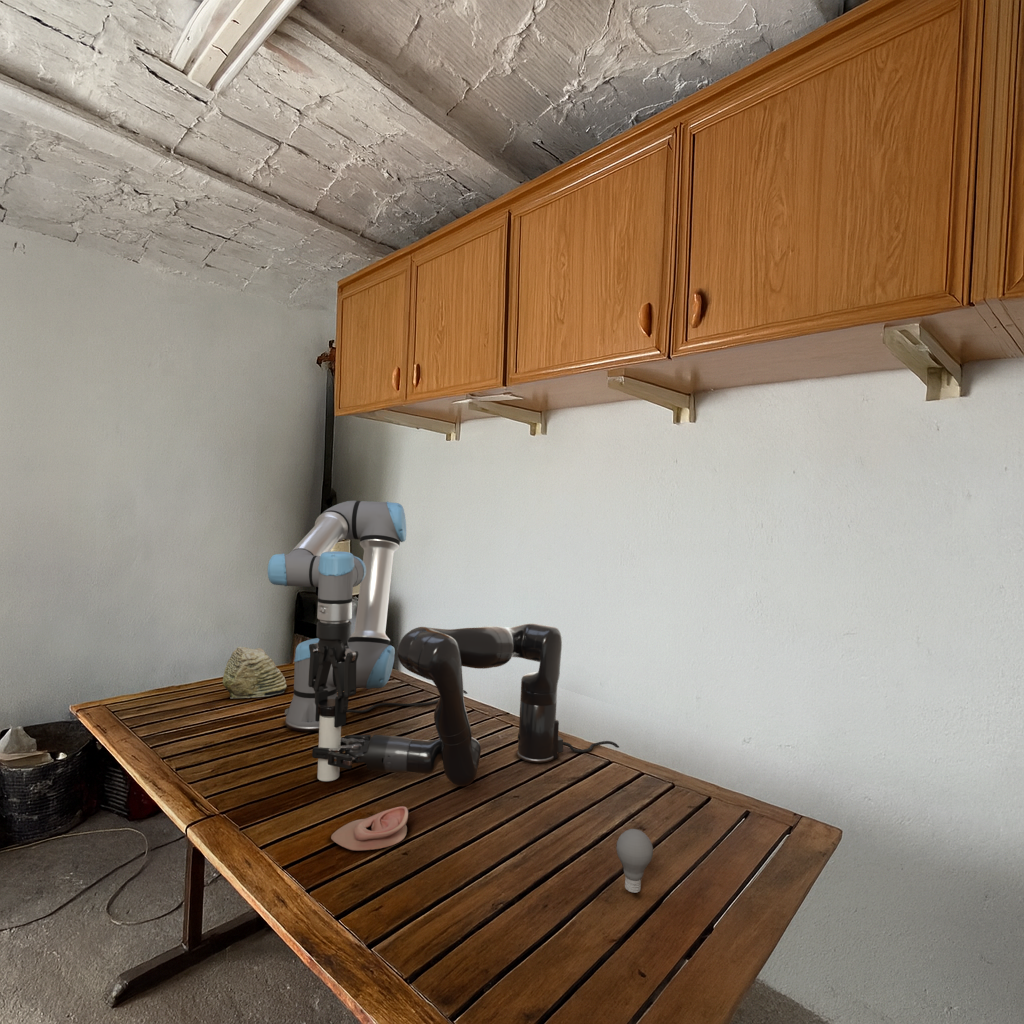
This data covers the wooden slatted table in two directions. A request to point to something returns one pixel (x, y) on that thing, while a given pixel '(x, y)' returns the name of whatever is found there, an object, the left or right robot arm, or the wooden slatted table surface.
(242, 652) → the fossil
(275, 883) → the wooden slatted table surface
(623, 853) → the light bulb
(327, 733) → the jar
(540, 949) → the wooden slatted table surface
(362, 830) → the anatomical model
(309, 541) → the left robot arm
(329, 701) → the lid
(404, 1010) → the wooden slatted table surface
